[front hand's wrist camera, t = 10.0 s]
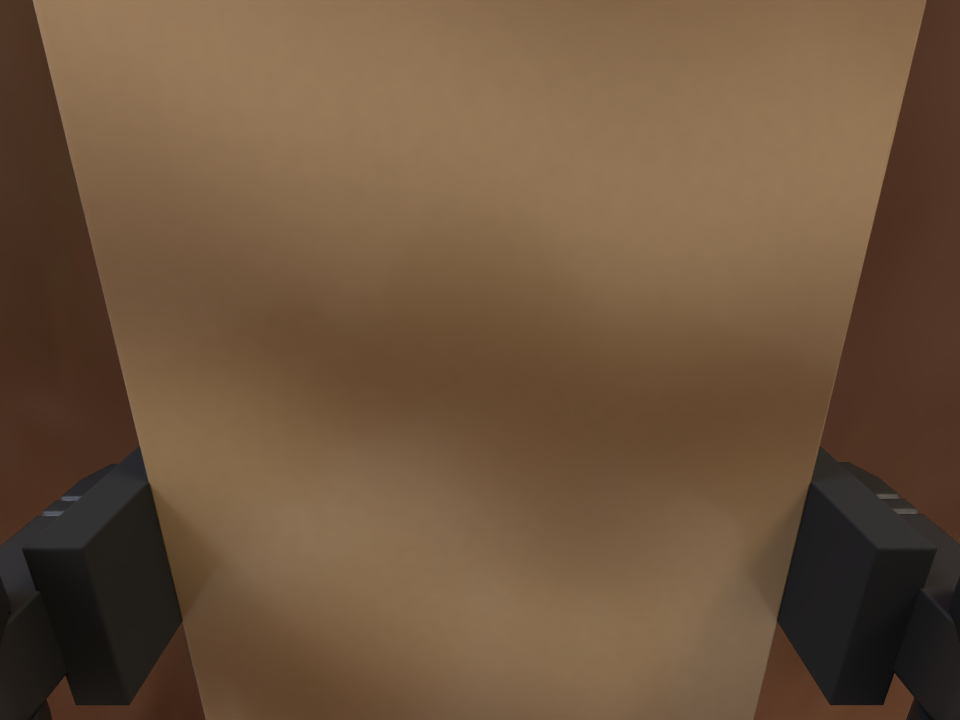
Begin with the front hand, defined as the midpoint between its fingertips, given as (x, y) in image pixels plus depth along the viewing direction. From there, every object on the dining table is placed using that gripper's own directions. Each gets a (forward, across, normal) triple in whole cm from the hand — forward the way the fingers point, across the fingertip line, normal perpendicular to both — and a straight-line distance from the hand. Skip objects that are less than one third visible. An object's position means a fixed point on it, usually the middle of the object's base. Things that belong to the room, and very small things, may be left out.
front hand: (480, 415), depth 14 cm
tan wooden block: (+4, 0, -4) cm, 5 cm away
